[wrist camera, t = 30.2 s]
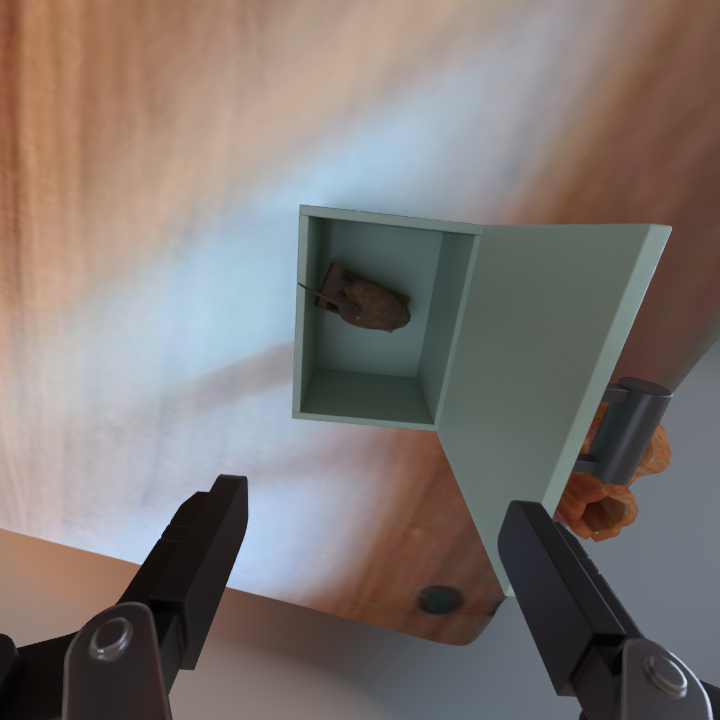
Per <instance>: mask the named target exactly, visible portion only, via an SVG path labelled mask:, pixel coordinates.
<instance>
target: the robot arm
mask: <svg viewBox="0 0 720 720" xmlns="http://www.w3.org/2000/svg"><path fill="white" fill-rule="evenodd" d="M247 523H248V481H247V477H246V476H236V475H224V474H220V475H219V476H218V478H217V479H216V481H215V483H214V484H213V486H212V488H211V490H210V491H209V492H200V491H197V492H196V493H195V494H194V495H193V496H191V497H190V498H189V499H188V500H186V501H185V502H184V503H183V504H181V506H180V507H179V509H178V510H177V512H176V514H175V515H174V517H173V518H172V520H171V522H170V525H169V524H168V526H167V527H166V529H165V531H164V532H163V534H162V536H161V539H159V540H158V541H157V543H156V544H155V546H154V547H153V549H152V551H151V552H150V554H149V555H148V557H147V558H146V560H145V561H144V563H143V564H142V566H141V568H140V569H139V571H138V572H137V574H136V575H135V577H134V578H133V580H132V581H131V583H130V584H129V586H128V588H127V589H126V591H125V592H124V594H123V595H122V597H121V598H120V599H119V601H118V602H117V603H116V604H115V605H114V606H112V607H110V608H107V609H105V610H104V611H102V612H100V613H99V614H97V615H96V616H94V617H93V618H92V619H91V620H90V621H88V622H87V623H86V624H85V625H84V626H83V627H82V628H81V629H80V630H79V631H77V632H75V633H72V634H69V635H65V636H62V637H58V638H54V639H50V640H46V641H42V642H39V643H35V644H31V645H27V646H23V647H19V648H16V647H15V644H14V643H13V641H12V639H11V638H10V637H9V636H7V635H4V634H0V720H173V719H172V714H171V709H170V703H169V697H168V695H169V693H170V690H171V688H172V685H173V683H174V680H175V678H176V676H177V673H178V671H179V669H184V670H194V669H195V666H196V663H197V661H198V658H199V656H200V653H201V650H202V648H203V645H204V642H205V640H206V637H207V634H208V632H209V629H210V626H211V624H212V621H213V618H214V616H215V613H216V610H217V608H218V605H219V603H220V600H221V597H222V595H223V592H224V589H225V587H226V584H227V581H228V579H229V576H230V573H231V571H232V568H233V565H234V563H235V560H236V557H237V555H238V552H239V550H240V547H241V544H242V542H243V539H244V536H245V532H246V528H247ZM497 546H498V553H499V557H500V560H501V562H502V565H503V567H504V570H505V572H506V574H507V577H508V579H509V581H510V584H511V586H512V589H513V591H514V593H515V596H516V598H517V600H518V603H519V605H520V608H521V610H522V612H523V615H524V617H525V620H526V622H527V624H528V627H529V629H530V631H531V634H532V636H533V638H534V641H535V643H536V646H537V648H538V650H539V652H540V655H541V658H542V660H543V662H544V665H545V667H546V669H547V672H548V674H549V677H550V679H551V681H552V684H553V686H554V689H555V691H556V693H557V695H558V696H572V697H577V699H578V701H579V703H580V705H581V707H582V709H583V710H582V712H581V713H580V716H579V720H720V688H718V687H715V686H712V685H710V684H708V683H705V682H703V681H700V680H698V679H697V677H696V676H695V675H694V674H693V672H692V671H691V670H690V669H689V668H688V667H687V666H686V665H685V664H684V663H683V662H682V661H681V660H680V659H679V658H678V657H676V656H675V655H674V654H672V653H671V652H670V651H669V650H667V649H665V648H664V647H662V646H661V645H659V644H657V643H655V642H653V641H650V640H647V639H646V638H645V637H644V635H643V634H642V633H641V631H640V630H639V628H638V627H637V625H636V624H635V622H634V621H633V620H632V618H631V617H630V615H629V614H628V612H627V611H626V610H625V608H624V607H623V605H622V604H621V602H620V601H619V599H618V598H617V596H616V595H615V594H614V592H613V591H612V589H611V588H610V586H609V585H608V583H607V582H606V581H605V579H604V578H603V576H602V575H601V574H599V573H598V569H597V568H596V566H595V565H594V563H593V562H592V560H591V559H589V558H588V555H587V553H586V552H585V550H584V549H583V547H582V546H581V544H580V543H579V542H578V540H577V539H576V537H574V536H573V535H572V534H571V533H570V532H569V531H568V530H567V529H566V528H564V527H563V526H562V525H561V524H560V523H559V522H553V520H552V519H551V517H550V516H549V514H548V513H547V511H546V510H545V508H544V507H543V505H542V504H541V503H539V502H532V501H520V500H512V501H511V502H510V504H509V506H508V509H507V512H506V515H505V518H504V520H503V523H502V526H501V529H500V532H499V535H498V541H497Z"/></svg>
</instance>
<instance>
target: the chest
mask: <svg viewBox="0 0 720 720" xmlns="http://www.w3.org/2000/svg"><path fill="white" fill-rule="evenodd" d="M299 214H300V215H299V239H298V267H297V296H296V324H295V352H294V381H293V409H292V411H293V412H292V418H295V419H306V420H317V421H328V422H339V423H350V424H361V425H372V426H383V427H394V428H405V429H416V430H427V431H438V428H439V424H440V419H441V415H442V410H443V406H444V401H445V397H446V392H447V388H448V383H449V379H450V374H451V370H452V365H453V361H454V356H455V352H456V347H457V343H458V338H459V334H460V329H461V325H462V320H463V316H464V311H465V307H466V302H467V298H468V293H469V289H470V284H471V280H472V275H473V271H474V266H475V262H476V257H477V253H478V248H479V244H480V239H481V235H482V230H483V226H484V225H476V224H468V223H459V222H450V221H441V220H432V219H424V218H415V217H406V216H397V215H389V214H380V213H371V212H362V211H354V210H345V209H336V208H327V207H319V206H310V205H300V211H299ZM331 262H333V263H335V264H337V265H340V266H342V267H344V268H346V269H348V270H351V271H353V272H355V273H357V274H360V275H362V276H364V277H366V278H368V279H371V280H373V281H375V282H377V283H380V284H382V285H384V286H386V287H388V288H391V289H393V290H395V291H397V292H400V293H402V294H404V295H406V296H408V297H410V301H409V303H408V305H407V308H408V310H409V311H410V314H411V319H410V321H409V322H408V324H407V325H406V326H405V327H403V328H398V329H395V330H394V331H393V333H389V332H386V331H383V330H374V329H365V328H360V327H357V326H354V325H352V324H349V323H347V322H346V321H344V320H343V319H342V318H341V315H338V314H336V313H333V312H330V311H327V310H325V309H322V308H319V307H316V306H315V301H316V299H317V295H315V294H313V293H311V292H310V291H308V290H306V289H305V288H303V287H301V286H300V285H299V284H298V282H299V283H301V284H303V285H304V286H306V287H308V288H310V289H312V290H314V291H317V292H319V291H320V289H321V286H322V284H323V281H324V279H325V276H326V274H327V271H328V269H329V267H330V264H331Z"/></svg>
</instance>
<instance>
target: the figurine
mask: <svg viewBox="0 0 720 720" xmlns="http://www.w3.org/2000/svg"><path fill="white" fill-rule="evenodd" d="M298 284H299V285H300V286H301V287H303V288H305V289H306V290H308V291H310V292H311V293H313V294H315V295H317V299H316V301H315V306H316V307H319V308H322V309H325V310H327V311H330V312H333V313H336V314H338V315H341V318H342V319H343V320H344V321H346V322H347V323H349V324H352V325H354V326H357V327H360V328H365V329H374V330H383V331H386V332H389V333H393V331H394V330H395V329H398V328H403V327H405V326H406V325H407V324H408V322H409V321H410V319H411V314H410V311H409V310H408V308H407V305H408V303H409V301H410V297H408V296H406V295H404V294H402V293H400V292H397V291H395V290H393V289H391V288H388V287H386V286H384V285H382V284H380V283H377V282H375V281H373V280H371V279H368V278H366V277H364V276H362V275H360V274H357V273H355V272H353V271H351V270H348V269H346V268H344V267H342V266H340V265H337V264H335V263H333V262H331V264H330V267H329V269H328V271H327V274H326V276H325V279H324V281H323V284H322V286H321V289H320V291H319V292H317V291H314V290H312V289H310V288H308V287H306V286H304V285H303V284H301V283H299V282H298Z"/></svg>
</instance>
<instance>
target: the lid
mask: <svg viewBox="0 0 720 720" xmlns="http://www.w3.org/2000/svg"><path fill="white" fill-rule="evenodd" d="M671 230H672V227H671V226H668V225H659V224H546V225H484V226H483V230H482V235H481V239H480V244H479V248H478V253H477V257H476V262H475V266H474V271H473V275H472V280H471V284H470V289H469V293H468V298H467V302H466V307H465V311H464V316H463V320H462V325H461V329H460V334H459V338H458V343H457V347H456V352H455V356H454V361H453V365H452V370H451V374H450V379H449V383H448V388H447V392H446V397H445V401H444V406H443V410H442V415H441V419H440V424H439V428H438V433H437V435H438V438H439V440H440V442H441V445H442V447H443V449H444V452H445V454H446V457H447V459H448V461H449V464H450V466H451V468H452V471H453V473H454V476H455V478H456V480H457V483H458V485H459V487H460V490H461V492H462V495H463V497H464V499H465V502H466V504H467V506H468V509H469V511H470V514H471V516H472V518H473V521H474V523H475V525H476V528H477V530H478V533H479V535H480V537H481V540H482V542H483V544H484V547H485V549H486V552H487V554H488V556H489V559H490V561H491V563H492V566H493V568H494V571H495V573H496V575H497V578H498V580H499V582H500V585H501V587H502V590H503V592H504V594H505V596H515V593H514V591H513V589H512V586H511V584H510V581H509V579H508V577H507V574H506V572H505V570H504V567H503V565H502V562H501V560H500V557H499V553H498V546H497V541H498V535H499V532H500V529H501V526H502V523H503V520H504V518H505V515H506V512H507V509H508V506H509V504H510V502H511V501H512V500H520V501H532V502H539V503H541V504H542V505H543V507H544V508H545V510H546V511H547V513H548V514H549V516H550V517H551V519H552V517H553V514H554V512H555V510H556V507H557V505H558V502H559V500H560V498H561V495H562V493H563V490H564V488H565V485H566V483H567V481H568V478H569V476H570V473H571V472H583V473H590V474H592V475H593V476H595V477H596V478H598V479H600V480H602V481H604V482H606V483H609V484H612V485H617V486H625V485H627V484H629V482H630V480H631V478H632V476H633V474H634V472H635V470H636V468H637V466H638V464H639V462H640V460H641V458H642V456H643V454H644V452H645V450H646V448H647V446H648V444H649V442H650V440H651V438H652V436H653V434H654V432H655V430H656V428H657V426H658V424H659V422H660V420H661V418H662V416H663V414H664V412H665V410H666V408H667V406H668V404H669V402H670V400H671V398H672V396H673V394H672V392H671V391H669V390H668V389H666V388H664V387H662V386H660V385H658V384H655V383H652V382H649V381H646V380H642V379H637V378H630V377H623V378H620V379H619V381H618V383H617V384H611V383H608V382H609V379H610V377H611V374H612V372H613V370H614V367H615V365H616V362H617V360H618V358H619V355H620V353H621V350H622V348H623V345H624V343H625V341H626V338H627V336H628V333H629V331H630V329H631V326H632V324H633V321H634V319H635V317H636V314H637V312H638V309H639V307H640V304H641V302H642V300H643V297H644V295H645V292H646V290H647V288H648V285H649V283H650V280H651V278H652V276H653V273H654V271H655V268H656V266H657V263H658V261H659V259H660V256H661V254H662V251H663V249H664V247H665V244H666V242H667V239H668V237H669V234H670V232H671ZM600 402H609V405H608V407H607V409H606V412H605V414H604V416H603V419H602V421H601V423H600V426H599V428H598V430H597V433H596V435H595V437H594V440H593V442H592V444H591V447H590V449H589V451H588V454H581V453H579V452H580V449H581V447H582V444H583V442H584V440H585V437H586V435H587V432H588V430H589V428H590V425H591V423H592V420H593V418H594V415H595V413H596V411H597V408H598V406H599V403H600ZM515 597H516V596H515Z"/></svg>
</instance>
